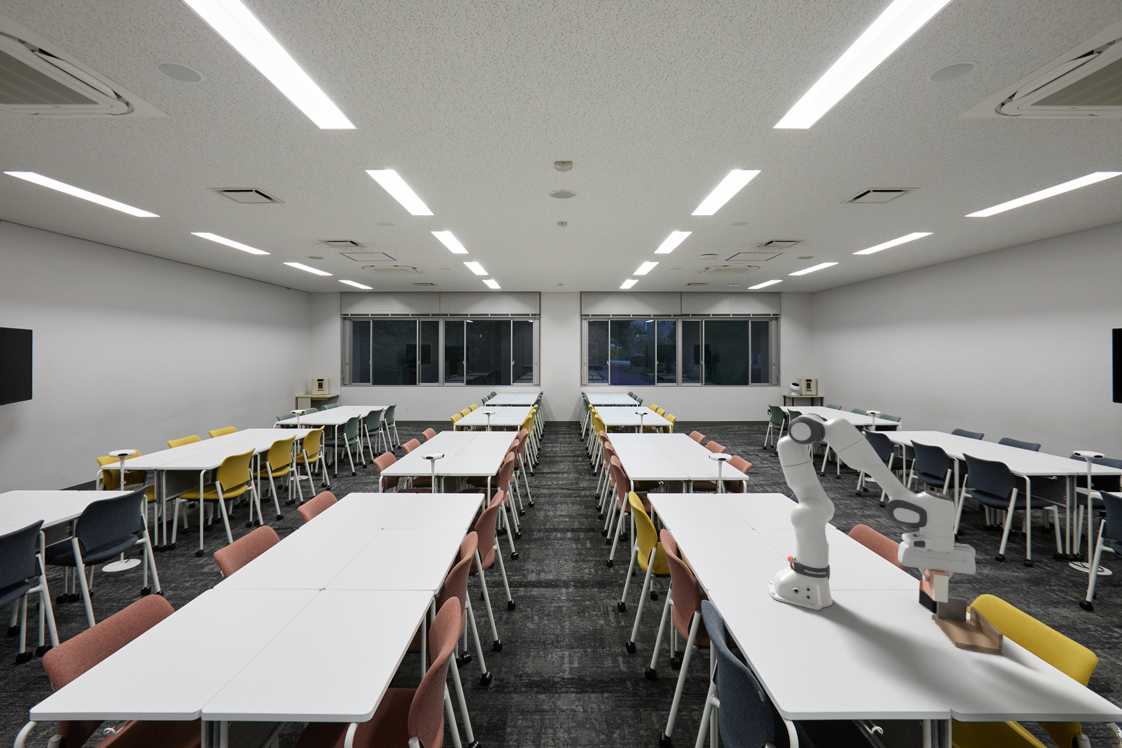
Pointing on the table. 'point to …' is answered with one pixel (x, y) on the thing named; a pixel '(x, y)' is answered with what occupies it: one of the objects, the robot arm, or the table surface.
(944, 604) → the grey flat square slab
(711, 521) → the table surface
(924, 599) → the battery
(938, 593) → the rectangular block
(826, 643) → the table surface
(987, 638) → the shelf
